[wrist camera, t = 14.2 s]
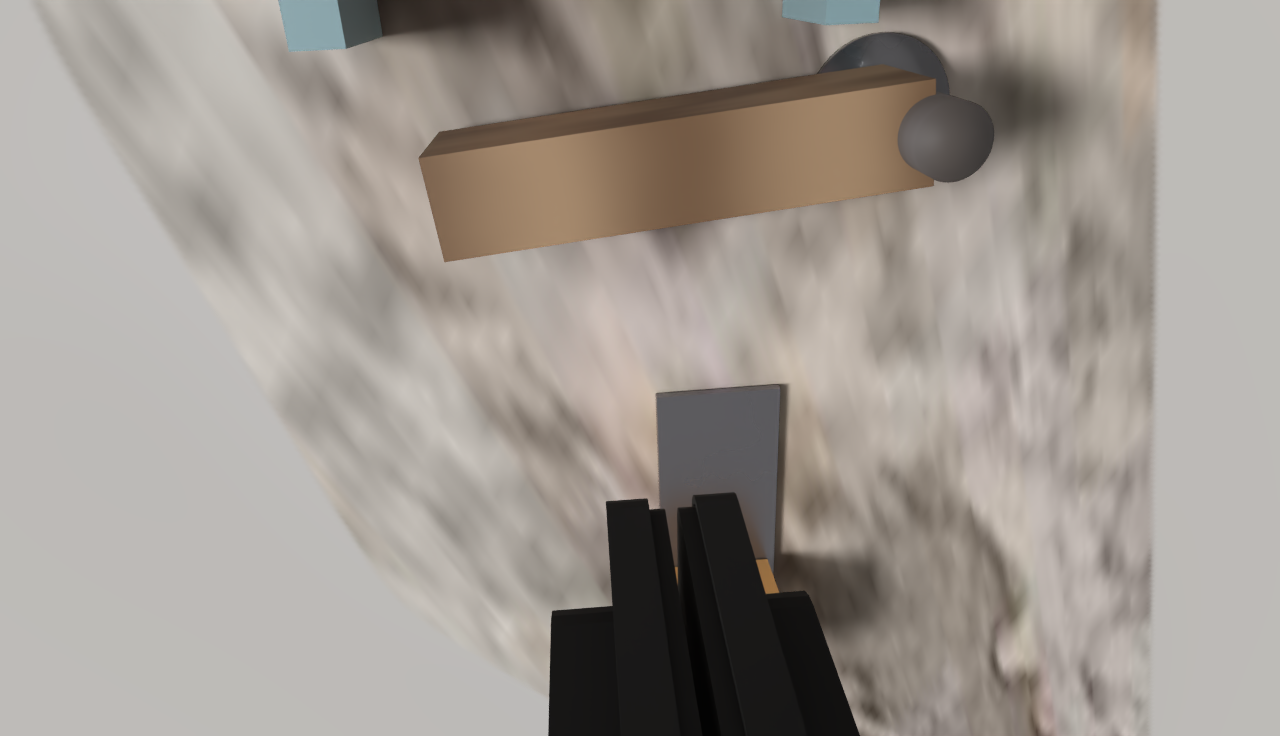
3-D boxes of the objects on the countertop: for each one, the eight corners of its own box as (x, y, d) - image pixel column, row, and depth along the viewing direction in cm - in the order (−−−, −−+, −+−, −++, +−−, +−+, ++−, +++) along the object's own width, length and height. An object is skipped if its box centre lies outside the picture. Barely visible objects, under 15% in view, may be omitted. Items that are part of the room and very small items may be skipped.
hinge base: (809, 35, 22) (812, 36, 22) (953, 28, 22) (958, 29, 22) (802, 184, 24) (804, 186, 24) (936, 175, 24) (940, 177, 24)
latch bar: (915, 58, 22) (997, 77, 18) (914, 152, 23) (990, 191, 19) (439, 131, 22) (410, 168, 18) (460, 222, 23) (438, 277, 19)
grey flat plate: (655, 393, 26) (656, 398, 26) (777, 384, 27) (780, 388, 26) (664, 626, 31) (665, 632, 30) (769, 616, 31) (771, 622, 31)
